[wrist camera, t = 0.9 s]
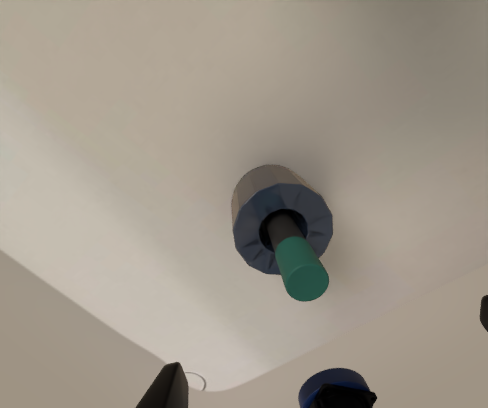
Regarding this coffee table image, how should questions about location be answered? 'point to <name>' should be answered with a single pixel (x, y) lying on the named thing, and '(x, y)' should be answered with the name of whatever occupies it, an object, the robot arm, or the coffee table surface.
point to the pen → (295, 258)
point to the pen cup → (272, 199)
